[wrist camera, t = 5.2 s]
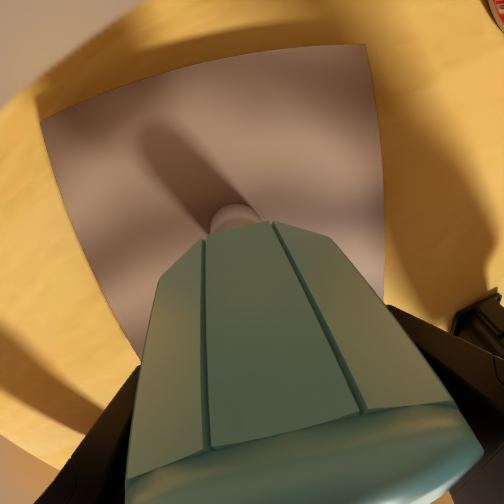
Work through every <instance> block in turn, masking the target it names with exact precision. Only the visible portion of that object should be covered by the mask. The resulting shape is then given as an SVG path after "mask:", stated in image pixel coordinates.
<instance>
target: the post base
mask: <svg viewBox="0 0 504 504" xmlns="http://www.w3.org/2000/svg"><path fill="white" fill-rule="evenodd" d="M40 125H41V129H42V133H43V137H44V140H45V144H46V147H47V151H48V154H49V158H50V161H51V164H52V167H53V171H54V174H55V177H56V180H57V183H58V186H59V189H60V192H61V195H62V197H63V200H64V203H65V206H66V208H67V211H68V214H69V216H70V219H71V221H72V224H73V226H74V229H75V231H76V234H77V236H78V239H79V241H80V244H81V246H82V248H83V251H84V253H85V255H86V257H87V260H88V262H89V264H90V266H91V268H92V271H93V273H94V275H95V277H96V279H97V281H98V283H99V285H100V287H101V290H102V292H103V294H104V296H105V298H106V300H107V302H108V303H109V305H110V307H111V309H112V311H113V313H114V315H115V317H116V319H117V321H118V322H119V324H120V326H121V328H122V330H123V332H124V333H125V335H126V337H127V339H128V340H129V342H130V344H131V346H132V347H133V349H134V351H135V352H136V354H137V356H138V357H139V359H140V361H141V360H142V354H143V349H144V344H145V339H146V334H147V329H148V324H149V319H150V315H151V310H152V305H153V301H154V296H155V292H156V288H157V284H158V280H159V279H160V276H162V275H163V274H164V273H165V272H166V271H167V270H168V269H169V268H170V267H171V266H172V265H173V264H174V263H175V262H176V261H177V260H178V259H179V258H180V257H181V256H183V255H184V254H185V253H186V252H187V251H188V250H189V249H190V248H191V247H192V246H193V245H194V244H195V243H196V242H197V241H199V240H200V239H201V238H203V239H204V240H205V241H206V235H210V234H214V233H218V232H222V231H226V230H230V229H234V228H238V227H242V226H247V225H251V224H255V223H259V222H263V221H268V220H269V222H270V224H272V222H273V221H277V222H281V223H284V224H288V225H291V226H295V227H298V228H302V229H305V230H308V231H312V232H315V233H319V234H322V235H326V236H328V237H329V238H330V239H332V240H333V241H334V242H335V243H336V244H337V246H338V247H339V248H340V249H341V250H342V252H343V253H344V254H345V255H346V256H347V258H348V259H349V260H350V261H351V262H352V264H353V265H354V266H355V267H356V269H357V270H358V271H359V272H360V273H361V275H362V276H363V277H364V278H365V280H366V281H367V282H368V283H369V285H370V286H371V287H372V288H373V290H374V291H375V292H376V293H377V295H378V296H379V297H380V299H381V300H382V301H383V296H384V273H385V207H384V184H383V168H382V155H381V144H380V134H379V125H378V117H377V109H376V102H375V95H374V89H373V82H372V76H371V71H370V65H369V60H368V55H367V50H366V45H365V44H340V45H319V46H306V47H295V48H285V49H277V50H269V51H262V52H255V53H249V54H243V55H237V56H232V57H227V58H222V59H217V60H212V61H208V62H203V63H199V64H195V65H191V66H187V67H183V68H179V69H175V70H172V71H168V72H165V73H161V74H158V75H155V76H151V77H148V78H145V79H142V80H139V81H136V82H133V83H130V84H127V85H124V86H122V87H119V88H116V89H113V90H111V91H108V92H106V93H103V94H100V95H98V96H95V97H93V98H91V99H88V100H86V101H84V102H81V103H79V104H77V105H74V106H72V107H70V108H68V109H66V110H63V111H61V112H59V113H57V114H55V115H53V116H51V117H49V118H47V119H45V120H43V121H41V122H40Z"/></svg>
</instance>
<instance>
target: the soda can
mask: <svg viewBox="0 0 504 504" xmlns="http://www.w3.org/2000/svg"><path fill="white" fill-rule="evenodd" d="M487 1H488V4H489V7H490V10H491V12H492V15H493V17H494V19H495V21H496V22H497V24H498V26H499V27H500V29H501V30H502V32H503V33H504V0H487Z"/></svg>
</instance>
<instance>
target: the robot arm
mask: <svg viewBox="0 0 504 504" xmlns="http://www.w3.org/2000/svg"><path fill="white" fill-rule="evenodd" d="M501 298H502V295H501V294H500V293H496V294H495V295H493V296H491V297H489V298H487V299H485V300H483V301H481V302H479V303H477V304H475V305H472V306H470V307H468V308H466V309H464V310H462V311H460V312H458V313H457V314H456V316H455V319H454V322H453V326H452V330H451V334H450V333H448V332H446V331H444V330H442V329H440V328H438V327H436V326H434V325H432V324H430V323H427V322H425V321H423V320H421V319H419V318H417V317H415V316H413V315H411V314H409V313H407V312H404V311H402V310H400V309H398V308H396V307H394V306H392V305H386V306H387V308H388V309H389V310H390V311H391V313H392V314H393V315H394V317H395V318H396V319H397V321H398V322H399V323H400V325H401V326H402V327H403V329H404V330H405V331H406V333H407V334H408V335H409V337H410V338H411V339H412V341H413V342H414V344H415V345H416V346H417V348H418V349H419V350H420V352H421V353H422V355H423V356H424V357H425V359H426V360H427V362H428V363H429V364H430V366H431V367H432V369H433V370H434V372H435V373H436V374H437V376H438V377H439V379H440V380H441V382H442V383H443V385H444V386H445V388H446V389H447V391H448V392H449V394H450V395H451V397H452V398H453V400H454V401H455V403H456V405H457V407H458V408H459V410H460V412H461V414H462V415H463V417H464V419H465V420H466V422H467V423H468V425H469V426H470V428H471V430H472V431H473V433H474V435H475V436H476V438H477V439H478V441H479V443H480V444H481V446H482V448H483V450H484V455H483V457H482V459H481V461H480V462H479V463H478V464H477V466H476V467H475V468H474V469H473V470H472V471H471V472H470V473H469V474H468V475H467V476H466V477H465V478H464V479H462V480H461V481H460V482H459V483H458V484H456V485H455V486H454V487H453V488H451V489H450V490H449V492H450V494H451V497H452V499H453V501H454V504H504V308H503V307H502V306H501V305H500V301H501ZM139 371H140V365H139V366H137V367H136V368H135V370H134V371H133V372H132V374H131V375H130V376H129V378H128V379H127V380H126V382H125V383H124V384H123V386H122V387H121V388H120V390H119V391H118V392H117V394H116V395H115V396H114V398H113V399H112V401H111V402H110V403H109V405H108V406H107V407H106V409H105V410H104V411H103V413H102V414H101V415H100V417H99V418H98V420H97V421H96V422H95V424H94V425H93V426H92V428H91V429H90V431H89V432H88V433H87V435H86V436H85V438H84V439H83V440H82V442H81V443H80V444H79V446H78V447H77V449H76V450H75V451H74V453H73V454H72V456H71V458H70V459H69V460H68V461H67V462H66V464H65V465H64V467H63V468H62V469H61V471H60V472H59V473H58V475H57V476H56V477H55V479H54V480H53V481H52V483H51V484H50V485H49V487H48V488H47V489H46V490H45V491H44V492H43V494H42V495H41V496H40V497H39V498H38V499H37V500H36V501H35V503H34V504H125V475H126V464H127V455H128V446H129V437H130V430H131V422H132V415H133V408H134V401H135V395H136V388H137V382H138V376H139Z"/></svg>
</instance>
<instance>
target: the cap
mask: <svg viewBox="0 0 504 504" xmlns="http://www.w3.org/2000/svg"><path fill="white" fill-rule="evenodd" d="M483 455H484V450H483V448H482V446H481V444H480V443H479V441H478V439H477V438H476V436H475V435H474V433H473V431H472V430H471V428H470V426H469V425H468V423H467V422H466V420H465V419H464V417H463V415H462V414H461V412H460V410H459V408H458V407H457V405H456V403H455V401H454V400H453V398H452V397H451V395H450V394H449V392H448V391H447V389H446V388H445V386H444V385H443V383H442V382H441V380H440V379H439V377H438V376H437V374H436V373H435V372H434V370H433V369H432V367H431V366H430V364H429V363H428V362H427V360H426V359H425V357H424V356H423V355H422V353H421V352H420V350H419V349H418V348H417V346H416V345H415V344H414V342H413V341H412V339H411V338H410V337H409V335H408V334H407V333H406V331H405V330H404V329H403V327H402V326H401V325H400V323H399V322H398V321H397V319H396V318H395V317H394V315H393V314H392V313H391V311H390V310H389V309H388V308H387V306H386V305H385V304H384V302H383V301H382V300H381V299H380V297H379V296H378V295H377V293H376V292H375V291H374V290H373V288H372V287H371V286H370V285H369V283H368V282H367V281H366V280H365V278H364V277H363V276H362V275H361V273H360V272H359V271H358V270H357V269H356V267H355V266H354V265H353V264H352V262H351V261H350V260H349V259H348V258H347V256H346V255H345V254H344V253H343V252H342V250H341V249H340V248H339V247H338V246H337V244H336V243H335V242H334V241H333V240H332V239H330V238H329V237H328V236H326V235H322V234H319V233H315V232H312V231H308V230H305V229H302V228H298V227H295V226H291V225H288V224H284V223H281V222H277V221H273V222H272V224H270V222H269V220H268V221H263V222H259V223H255V224H251V225H247V226H242V227H238V228H234V229H230V230H226V231H222V232H218V233H214V234H210V235H206V241H205V240H204V239H203V238H201V239H200V240H199V241H197V242H196V243H195V244H194V245H193V246H192V247H191V248H190V249H189V250H188V251H187V252H186V253H185V254H184V255H183V256H181V257H180V258H179V259H178V260H177V261H176V262H175V263H174V264H173V265H172V266H171V267H170V268H169V269H168V270H167V271H166V272H165V273H164V274H163V275H162V276H160V279H159V280H158V284H157V288H156V292H155V296H154V301H153V305H152V310H151V315H150V319H149V324H148V329H147V334H146V339H145V344H144V349H143V354H142V360H141V365H140V371H139V376H138V382H137V388H136V395H135V401H134V408H133V415H132V422H131V430H130V437H129V446H128V455H127V464H126V475H125V504H429V503H431V502H433V501H434V500H436V499H437V498H439V497H440V496H442V495H443V494H445V493H446V492H447V491H449V490H450V489H451V488H453V487H454V486H455V485H456V484H458V483H459V482H460V481H461V480H462V479H464V478H465V477H466V476H467V475H468V474H469V473H470V472H471V471H472V470H473V469H474V468H475V467H476V466H477V464H478V463H479V462H480V461H481V459H482V457H483Z"/></svg>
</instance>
